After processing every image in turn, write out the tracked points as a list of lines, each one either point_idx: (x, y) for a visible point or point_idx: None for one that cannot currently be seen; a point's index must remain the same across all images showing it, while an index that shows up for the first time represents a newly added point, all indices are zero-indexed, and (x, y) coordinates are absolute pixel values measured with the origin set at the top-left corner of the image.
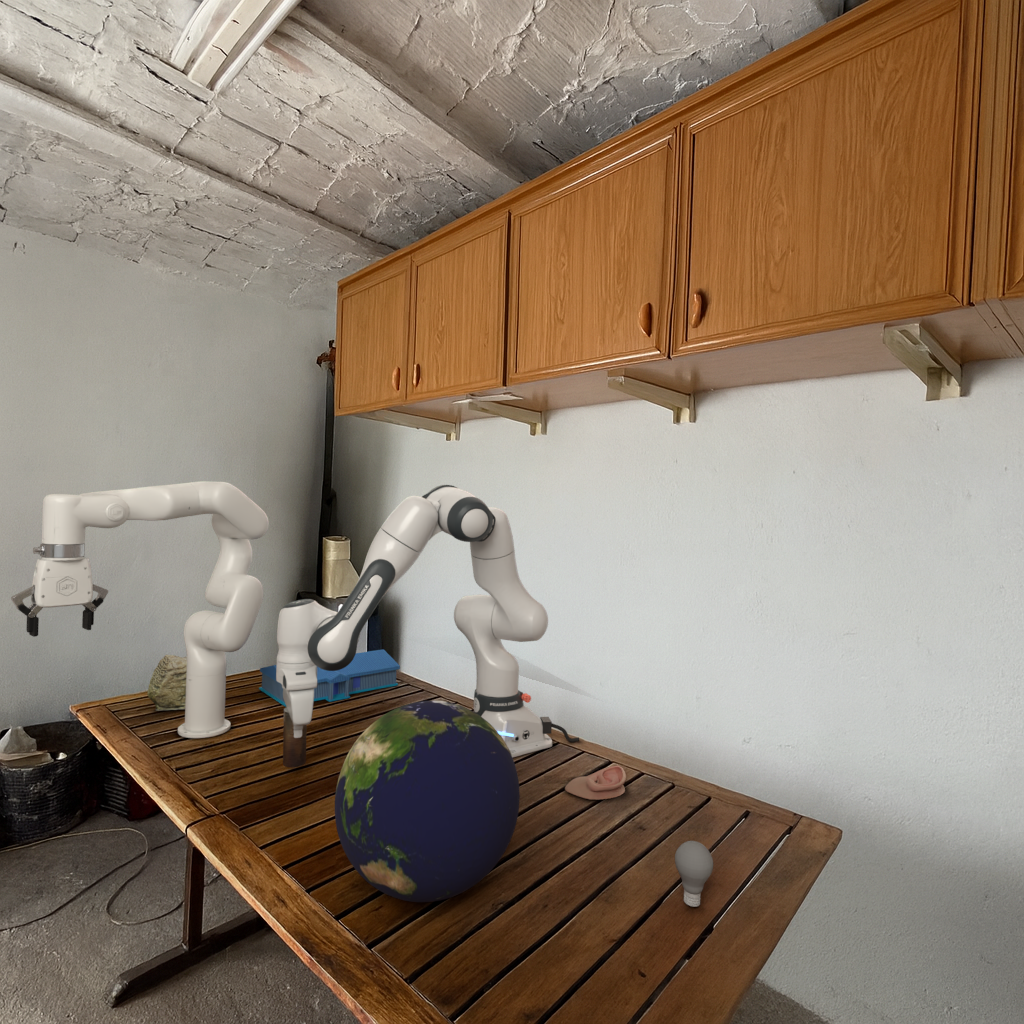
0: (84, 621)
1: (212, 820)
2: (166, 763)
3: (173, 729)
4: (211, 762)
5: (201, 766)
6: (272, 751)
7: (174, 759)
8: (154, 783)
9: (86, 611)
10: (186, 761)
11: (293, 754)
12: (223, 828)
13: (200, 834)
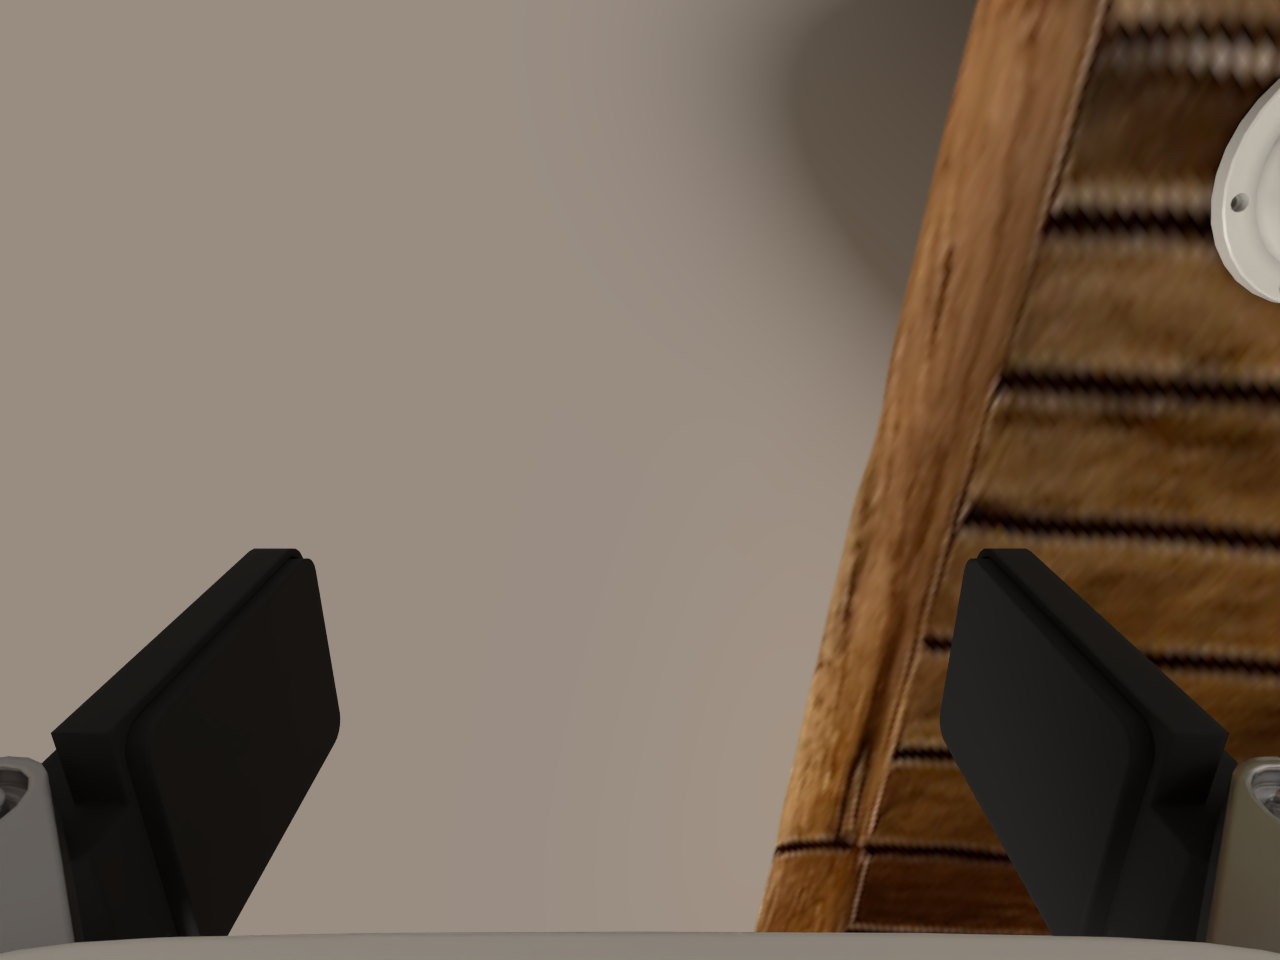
0: (1003, 698)
1: (829, 864)
2: (980, 438)
3: (1268, 40)
4: (1080, 544)
5: (1036, 551)
6: (1275, 607)
7: (1021, 422)
8: (856, 569)
9: (1122, 873)
10: (1035, 473)
11: None
12: (823, 908)
13: (772, 897)
